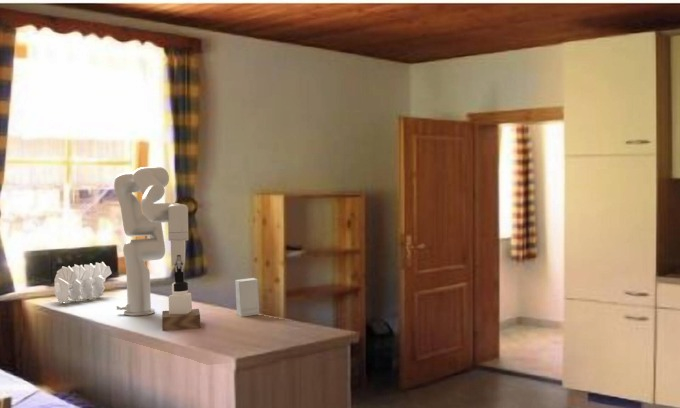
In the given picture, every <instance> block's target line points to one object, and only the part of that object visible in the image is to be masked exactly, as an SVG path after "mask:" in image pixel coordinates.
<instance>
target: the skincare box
mask: <svg viewBox="0 0 680 408" xmlns="http://www.w3.org/2000/svg"><path fill="white" fill-rule="evenodd" d="M234 282H235V283H234V285H235V301H236V302H235V303H236V305H235V306H236V315H237V316H239V317H241V318H243V317H248V316H249V317H250V316H257V315H260V299H259V279H257V278H255V277H250V278H241V279H235V280H234Z"/></svg>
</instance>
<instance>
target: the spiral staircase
mask: <svg viewBox="0 0 680 408" xmlns="http://www.w3.org/2000/svg"><path fill="white" fill-rule="evenodd" d="M112 274H113V273H112V270H111V267H110V266H109V265H106V264H105V262H104V261H101V262H100V263H99V262H95V264H93V263H89V264H84V265H83V264H80V265H78V264H74V266H72V267H71V266H70V265H68V266H61V268H60V269H58V270H57V271H56V274H55V277H54V279H53V280H54V285H53V292H54V296H55V297H56V298H57V300H58V302H59V301H60V302H61V303H62V302H65V303H66V302H69V301H70V300H71V301H73V300H74V301H73V302H75V301H76V302H77V301H79V300H80V299H81V298H82V300H87V299H89V300H90V298H92V297H96V298H97V299H100V297H102V296H104V293H103V292H104V290H105V289H106V287H105V286H104V283H106V279H107V278H108V277H109V276H110V275H112ZM80 297H81V298H80Z"/></svg>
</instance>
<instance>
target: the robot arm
mask: <svg viewBox="0 0 680 408" xmlns="http://www.w3.org/2000/svg"><path fill="white" fill-rule="evenodd" d="M169 182H170V175H169V173H168V170H167V169H165V168H164V167H161V166H145V167H144V166H143V167H139V168H137V169H136V170H134V171H133V172H123V173H120V174H118V175H117V176H115V179H114V185H113V186H114V187H113V188H114V193H115V196H116V198H117V201H118V203H119V206H120V212H121V219H122V225H123V230H124V233H125V235H126V236H127V237H135V238H134V239H130V240H128V241H126V242H125V243H124V244H123V247H122V249H123V250H122V253H123V257H124V263H125V270H126V273H125V274H126V292H127V293H126V295H127V296H126V297H127V299H126V301H127V302H126V303H124V304H119V305H118V304H117V305H116V310H117V311H118V310H119V311H123V310H124V311H123V315H125V316H129V317H130V316H133V317H136V316H137V317H139V316H146V315H151V314H154V313H155V312H156V310H155V309H154V308H152V307H151V306H152V305H151V304H152V302H151V278H150V277H151V276H150V275H151V273H150V272H151V271H150V269H149V268H148V266H147V265H146V264H145V263H144V262H149V261H157V260H162V259H163V258H164V257H165V254H166V245H165V243H166V242H165V237H164V231H163V225H162V224H163V223H167V227H168V228H167V229H168V230H167V231H168V232H167V235H168V239H167V240H168V241H169V242H170V257H171V258H170V260H171V261H170V263H171V267H172V268H173V267H174V266H175V267H174V282H175V283H183V282H185V280H184V267H185V263H186V262H185V261H186V241H189V208H188V206H187V205H186V204H181V203H178V202H162V203H159V202H158V201H160V200H161V199H162V198H163V196H164V195H165V192H166V191H165V187H167V186H168V184H169ZM133 193H141V194H142V197H141V201H140V200H139V199H138V198H137V196H135V194H133ZM157 202H158V203H157ZM147 236H148V237H149V238H138V239H137V238H136V237H147Z"/></svg>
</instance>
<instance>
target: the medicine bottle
mask: <svg viewBox="0 0 680 408" xmlns="http://www.w3.org/2000/svg"><path fill="white" fill-rule="evenodd" d="M192 299H193V298H192V293H191V292H189V283H188V282H187V281H184V282H183V283H175V281H174V282H172V284H171V294H170V295H168V311H169V314H170V315H175V314H188V313H190V312H191V311H192V309H193V304H192V303H193V302H192Z"/></svg>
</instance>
